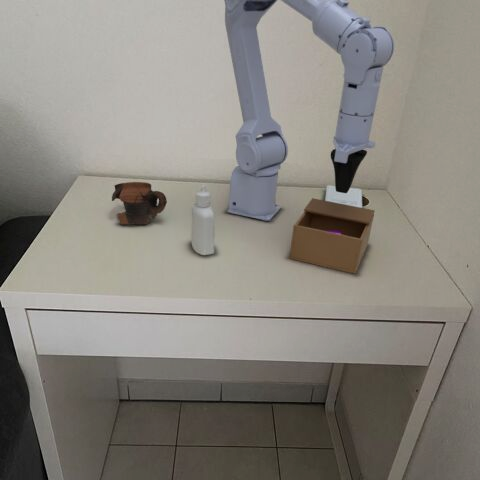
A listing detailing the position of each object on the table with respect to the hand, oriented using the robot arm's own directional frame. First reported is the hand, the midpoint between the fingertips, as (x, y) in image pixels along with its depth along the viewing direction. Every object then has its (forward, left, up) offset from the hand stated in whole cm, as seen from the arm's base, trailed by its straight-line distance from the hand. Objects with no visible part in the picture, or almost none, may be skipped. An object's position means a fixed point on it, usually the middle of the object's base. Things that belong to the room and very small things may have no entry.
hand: (342, 191), depth 89 cm
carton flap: (0, -1, -3) cm, 4 cm away
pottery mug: (-38, -7, -11) cm, 40 cm away
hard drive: (-3, +21, -11) cm, 24 cm away
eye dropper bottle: (-21, -14, -10) cm, 27 cm away
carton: (0, -4, -10) cm, 11 cm away
